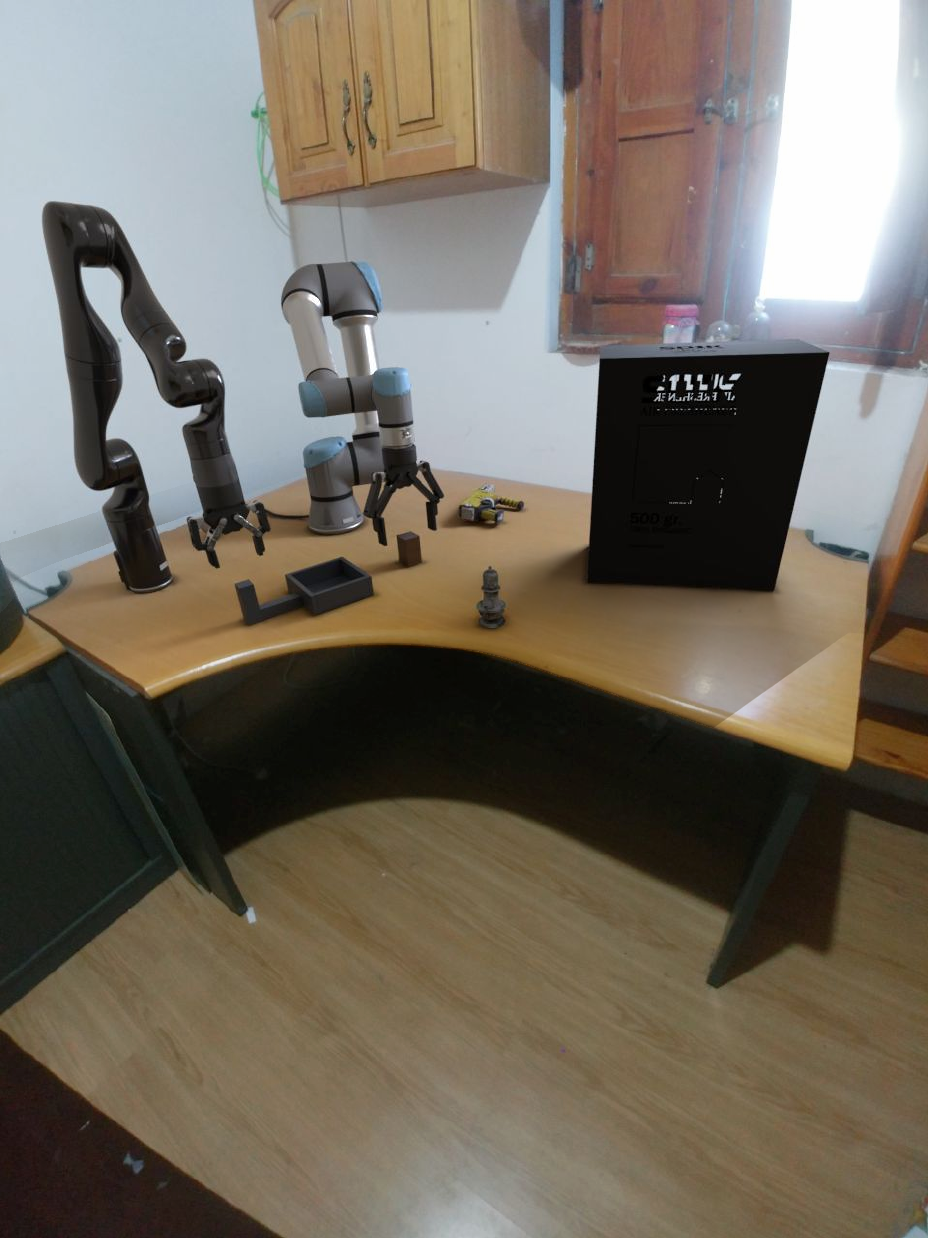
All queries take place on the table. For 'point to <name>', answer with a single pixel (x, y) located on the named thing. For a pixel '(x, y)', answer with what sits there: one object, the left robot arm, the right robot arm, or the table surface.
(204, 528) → the eyeball
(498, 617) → the grey tall tiered piece
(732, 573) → the cardboard box
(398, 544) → the walnut block
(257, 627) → the table surface
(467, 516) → the toy gun
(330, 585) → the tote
